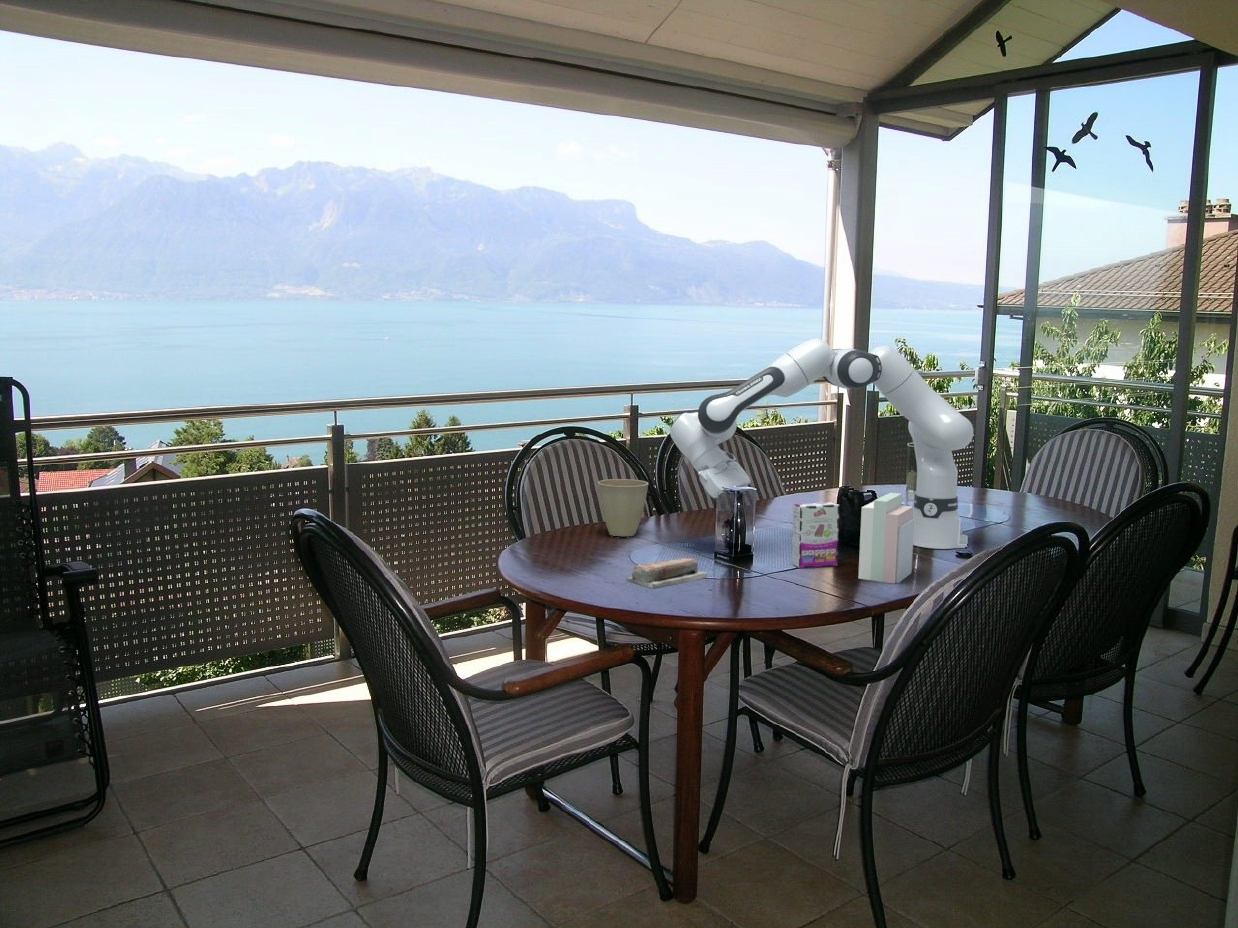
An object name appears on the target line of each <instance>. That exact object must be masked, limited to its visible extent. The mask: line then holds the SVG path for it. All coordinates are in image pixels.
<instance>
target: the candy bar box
mask: <svg viewBox="0 0 1238 928" xmlns="http://www.w3.org/2000/svg"><path fill="white" fill-rule="evenodd" d="M792 505H793V507H792V512H793V513H792V548H791V549H792V550H791V551H792V552H791V553H792V554H791V555H792V556H791V557H792V560H791V561H792V563H791V565H793V566H794V567H796V568H799V569H814V568H827V567H829V568H830V567H837V566H838V563H839V561H838V560H839V531H840V530H839V527H840V525H839V523H840V504H837V503H835V502H833V501H825V502H824V501H823V502H821V501H820V502H811V503H810V502H809V503H808V502H807V503H806V502H803V503H793V504H792Z"/></svg>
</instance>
